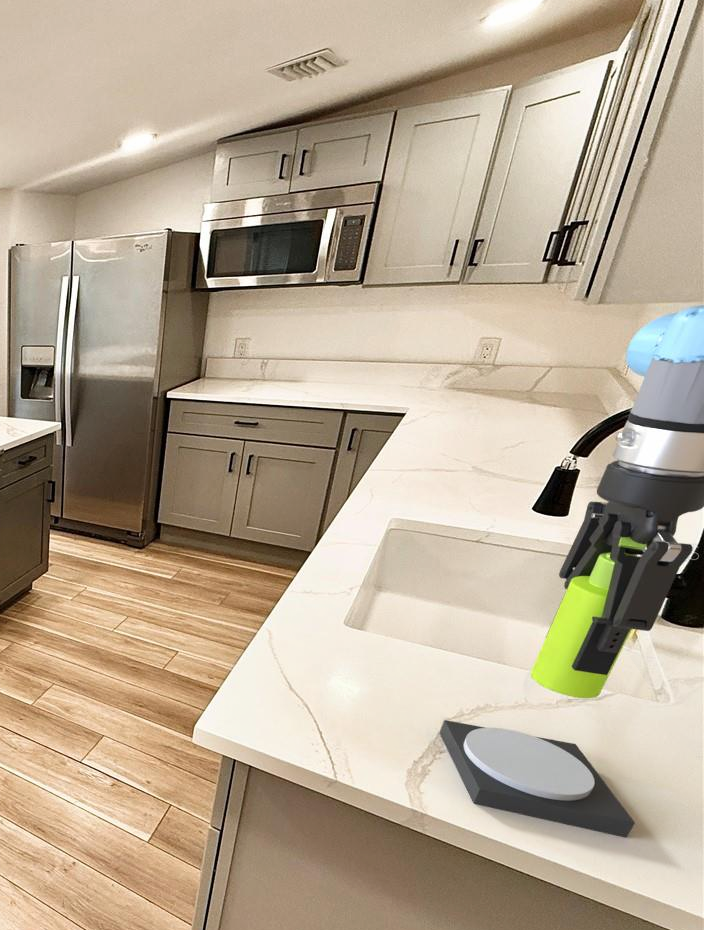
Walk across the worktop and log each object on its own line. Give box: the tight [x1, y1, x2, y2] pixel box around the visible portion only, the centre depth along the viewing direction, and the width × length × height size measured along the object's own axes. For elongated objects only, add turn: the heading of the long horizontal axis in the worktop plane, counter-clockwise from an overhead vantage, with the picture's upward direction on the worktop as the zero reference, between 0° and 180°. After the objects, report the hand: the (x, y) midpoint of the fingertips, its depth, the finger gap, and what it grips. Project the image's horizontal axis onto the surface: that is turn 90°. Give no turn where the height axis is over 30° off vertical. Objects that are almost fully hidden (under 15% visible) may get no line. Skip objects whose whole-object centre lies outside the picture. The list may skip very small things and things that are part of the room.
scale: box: [439, 719, 636, 838], centre depth 79 cm, size 14×14×3 cm
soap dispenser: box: [530, 537, 648, 699], centre depth 69 cm, size 6×7×20 cm
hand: (574, 655), depth 72 cm, fingers closed on soap dispenser, 6 cm apart
